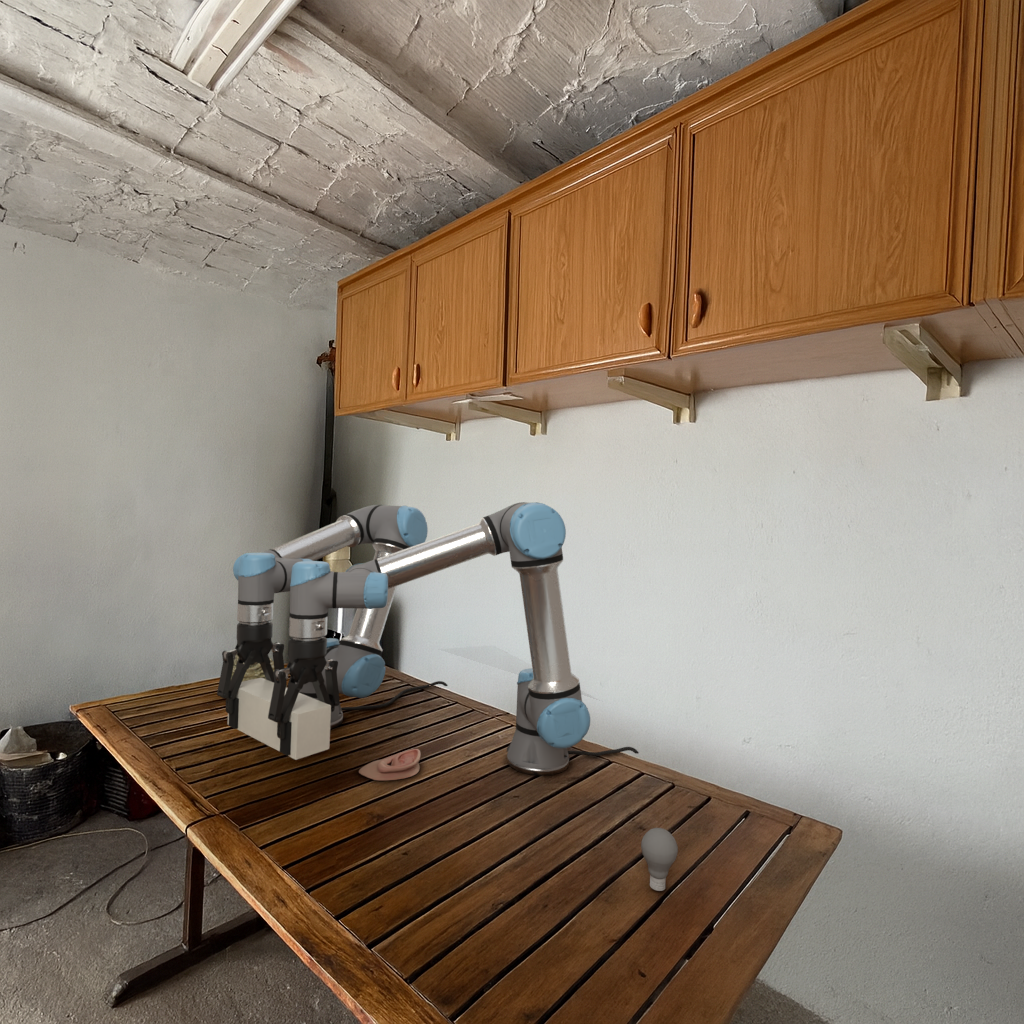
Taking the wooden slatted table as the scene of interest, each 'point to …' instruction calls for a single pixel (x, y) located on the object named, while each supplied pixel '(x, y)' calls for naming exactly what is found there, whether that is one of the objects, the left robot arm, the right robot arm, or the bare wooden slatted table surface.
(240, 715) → the box
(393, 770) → the anatomical model
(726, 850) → the wooden slatted table surface
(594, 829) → the wooden slatted table surface
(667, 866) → the light bulb
